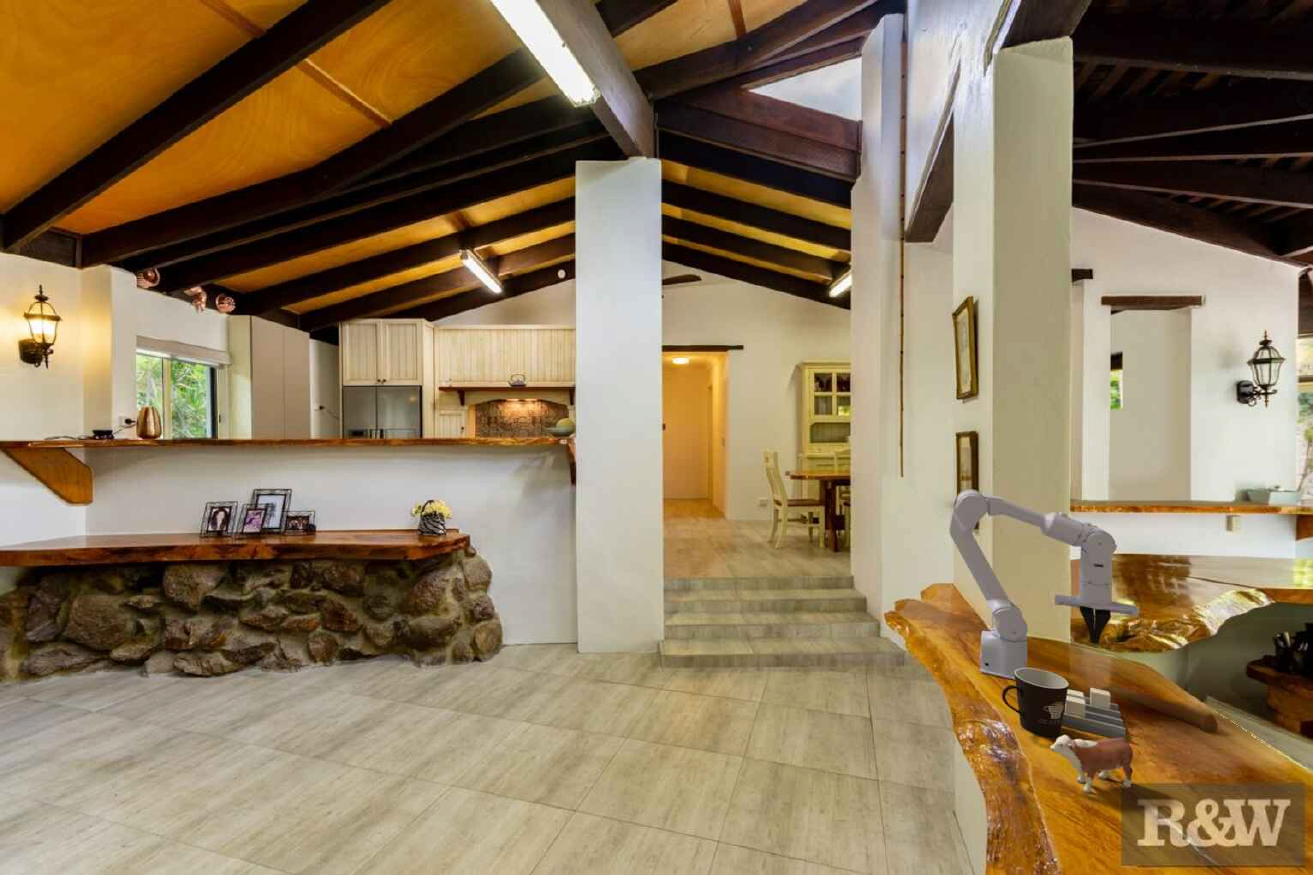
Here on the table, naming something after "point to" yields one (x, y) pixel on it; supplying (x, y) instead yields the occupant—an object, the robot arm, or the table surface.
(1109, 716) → the switch board
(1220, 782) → the table surface
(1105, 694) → the tab
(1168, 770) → the table surface
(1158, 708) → the primitive tool
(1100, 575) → the robot arm
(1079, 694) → the tab
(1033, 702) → the coffee mug
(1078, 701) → the tab
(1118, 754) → the bull figurine
